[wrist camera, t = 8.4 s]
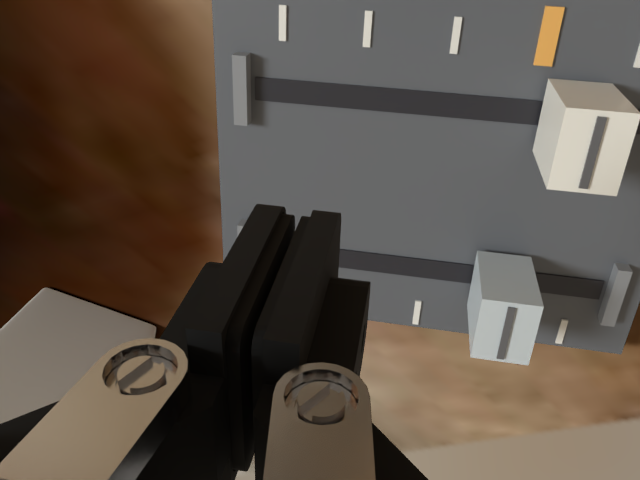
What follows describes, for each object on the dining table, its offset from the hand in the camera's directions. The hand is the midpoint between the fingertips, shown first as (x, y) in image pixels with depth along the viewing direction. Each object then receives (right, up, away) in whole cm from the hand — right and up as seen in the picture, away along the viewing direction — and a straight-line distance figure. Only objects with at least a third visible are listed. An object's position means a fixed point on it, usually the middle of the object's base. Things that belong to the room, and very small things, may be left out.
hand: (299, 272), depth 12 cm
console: (+6, +4, +16) cm, 18 cm away
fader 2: (+10, +6, +12) cm, 17 cm away
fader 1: (+9, -1, +16) cm, 19 cm away
